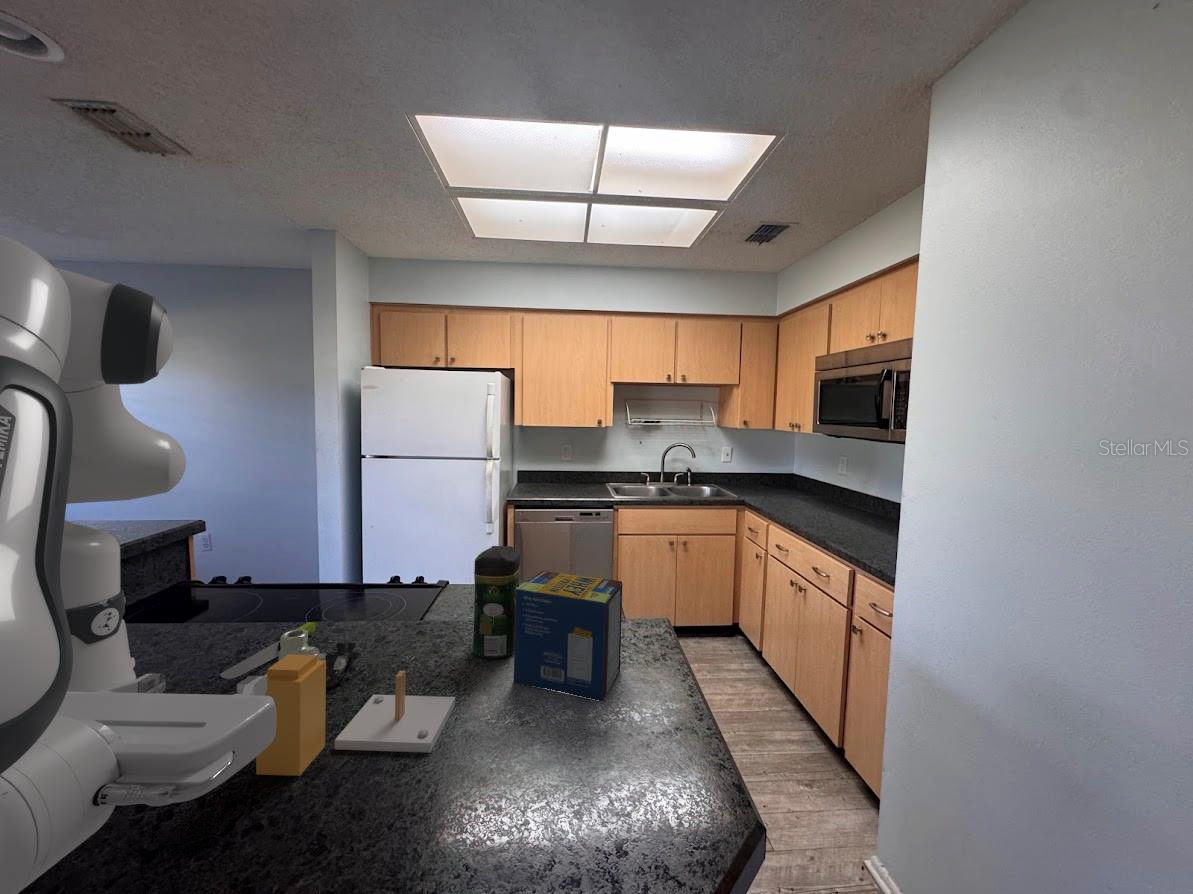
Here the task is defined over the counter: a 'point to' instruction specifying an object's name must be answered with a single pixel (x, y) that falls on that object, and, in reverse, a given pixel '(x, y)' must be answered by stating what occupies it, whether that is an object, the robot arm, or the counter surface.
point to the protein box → (568, 633)
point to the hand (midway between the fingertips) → (208, 682)
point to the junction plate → (397, 722)
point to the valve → (320, 655)
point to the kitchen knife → (261, 656)
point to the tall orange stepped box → (295, 715)
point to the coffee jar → (495, 601)
